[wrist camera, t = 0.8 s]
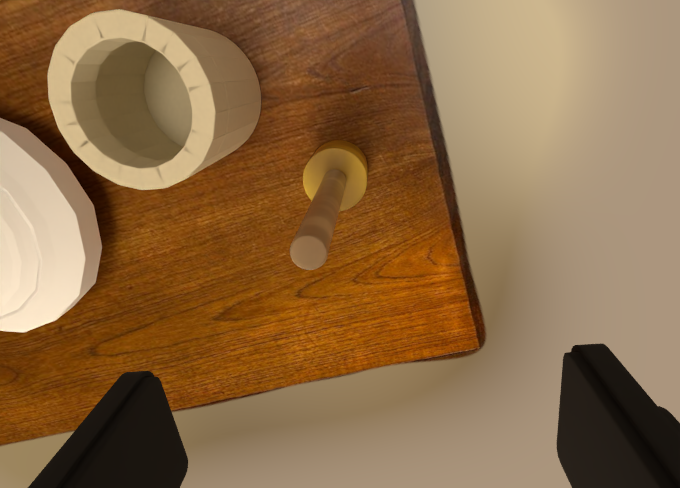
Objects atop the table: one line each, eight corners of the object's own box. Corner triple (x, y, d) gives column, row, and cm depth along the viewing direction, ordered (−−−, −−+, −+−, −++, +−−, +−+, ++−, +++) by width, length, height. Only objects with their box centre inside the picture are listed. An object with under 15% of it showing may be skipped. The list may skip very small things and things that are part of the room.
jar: (224, 4, 32) (154, -25, 22) (282, 128, 36) (245, 152, 25) (118, 61, 35) (12, 59, 24) (182, 173, 38) (112, 212, 28)
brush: (354, 130, 35) (335, 185, 19) (377, 184, 37) (377, 280, 20) (300, 153, 36) (237, 225, 20) (324, 205, 38) (284, 312, 21)
